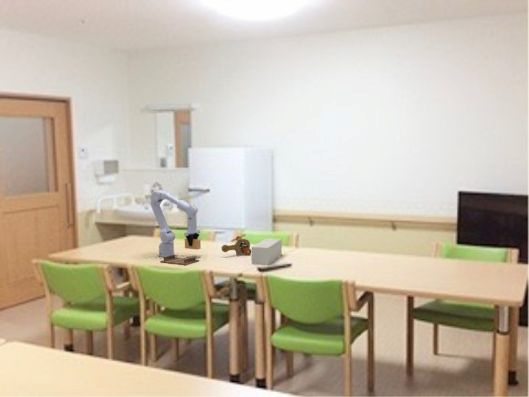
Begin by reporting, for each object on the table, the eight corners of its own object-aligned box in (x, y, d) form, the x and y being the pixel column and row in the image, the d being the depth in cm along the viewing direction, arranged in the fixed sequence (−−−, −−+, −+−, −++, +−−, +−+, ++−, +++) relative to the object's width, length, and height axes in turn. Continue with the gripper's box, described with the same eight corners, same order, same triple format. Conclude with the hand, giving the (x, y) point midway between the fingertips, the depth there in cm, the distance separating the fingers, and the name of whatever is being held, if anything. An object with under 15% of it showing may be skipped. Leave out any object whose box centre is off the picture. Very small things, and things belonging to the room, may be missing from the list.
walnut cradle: (160, 262, 353) (159, 257, 353) (174, 258, 365) (174, 253, 365) (185, 265, 343) (185, 260, 343) (199, 261, 355) (199, 256, 355)
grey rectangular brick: (266, 254, 376) (266, 238, 375) (281, 255, 373) (281, 239, 372) (251, 264, 345) (251, 246, 344) (268, 265, 342) (268, 247, 341)
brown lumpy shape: (252, 254, 373) (252, 234, 372) (225, 258, 362) (224, 237, 361) (246, 253, 380) (246, 232, 379) (219, 256, 369) (218, 235, 368)
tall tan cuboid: (184, 248, 368) (184, 239, 367) (188, 247, 371) (188, 238, 370) (197, 249, 363) (197, 240, 362) (200, 248, 366) (200, 239, 365)
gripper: (190, 226, 357) (190, 247, 358) (203, 223, 370) (204, 244, 371) (181, 225, 361) (181, 246, 362) (195, 222, 373) (195, 243, 374)
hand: (192, 245), depth 367 cm, fingers closed on tall tan cuboid, 3 cm apart
